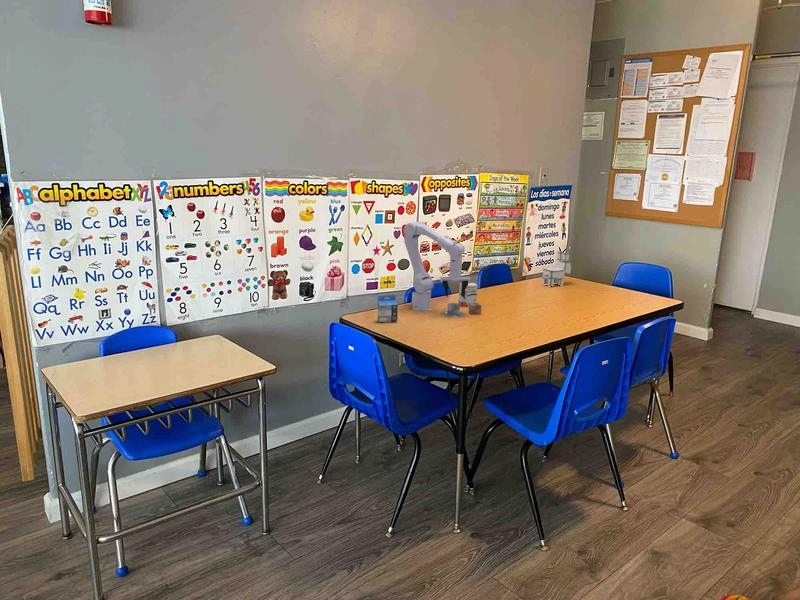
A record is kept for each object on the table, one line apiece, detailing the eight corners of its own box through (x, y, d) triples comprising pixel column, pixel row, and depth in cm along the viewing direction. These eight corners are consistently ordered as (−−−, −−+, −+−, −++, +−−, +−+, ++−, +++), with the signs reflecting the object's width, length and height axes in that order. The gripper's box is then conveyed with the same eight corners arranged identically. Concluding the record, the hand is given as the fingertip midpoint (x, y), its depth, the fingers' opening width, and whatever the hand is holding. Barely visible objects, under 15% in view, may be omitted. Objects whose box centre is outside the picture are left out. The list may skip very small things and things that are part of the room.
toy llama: (538, 285, 362) (541, 252, 357) (560, 282, 370) (563, 251, 365) (547, 287, 356) (549, 254, 351) (569, 285, 364) (572, 253, 359)
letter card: (445, 317, 287) (445, 317, 287) (441, 312, 297) (441, 311, 297) (465, 317, 288) (465, 317, 288) (461, 311, 298) (461, 311, 298)
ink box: (460, 307, 307) (461, 284, 304) (458, 304, 312) (459, 282, 309) (476, 307, 308) (477, 284, 305) (474, 304, 313) (475, 282, 310)
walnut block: (470, 315, 293) (471, 305, 292) (468, 312, 298) (469, 302, 296) (480, 315, 293) (481, 305, 292) (478, 312, 298) (478, 302, 297)
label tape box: (379, 323, 275) (379, 297, 272) (377, 320, 279) (377, 295, 276) (397, 322, 278) (398, 296, 275) (395, 319, 282) (395, 294, 279)
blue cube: (449, 315, 290) (449, 305, 289) (447, 312, 295) (447, 303, 293) (459, 315, 290) (459, 305, 289) (457, 312, 295) (457, 303, 294)
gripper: (442, 270, 282) (441, 298, 286) (472, 270, 284) (470, 298, 287) (439, 267, 289) (438, 294, 292) (469, 267, 291) (467, 294, 294)
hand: (454, 296), depth 290 cm, fingers open, 7 cm apart
